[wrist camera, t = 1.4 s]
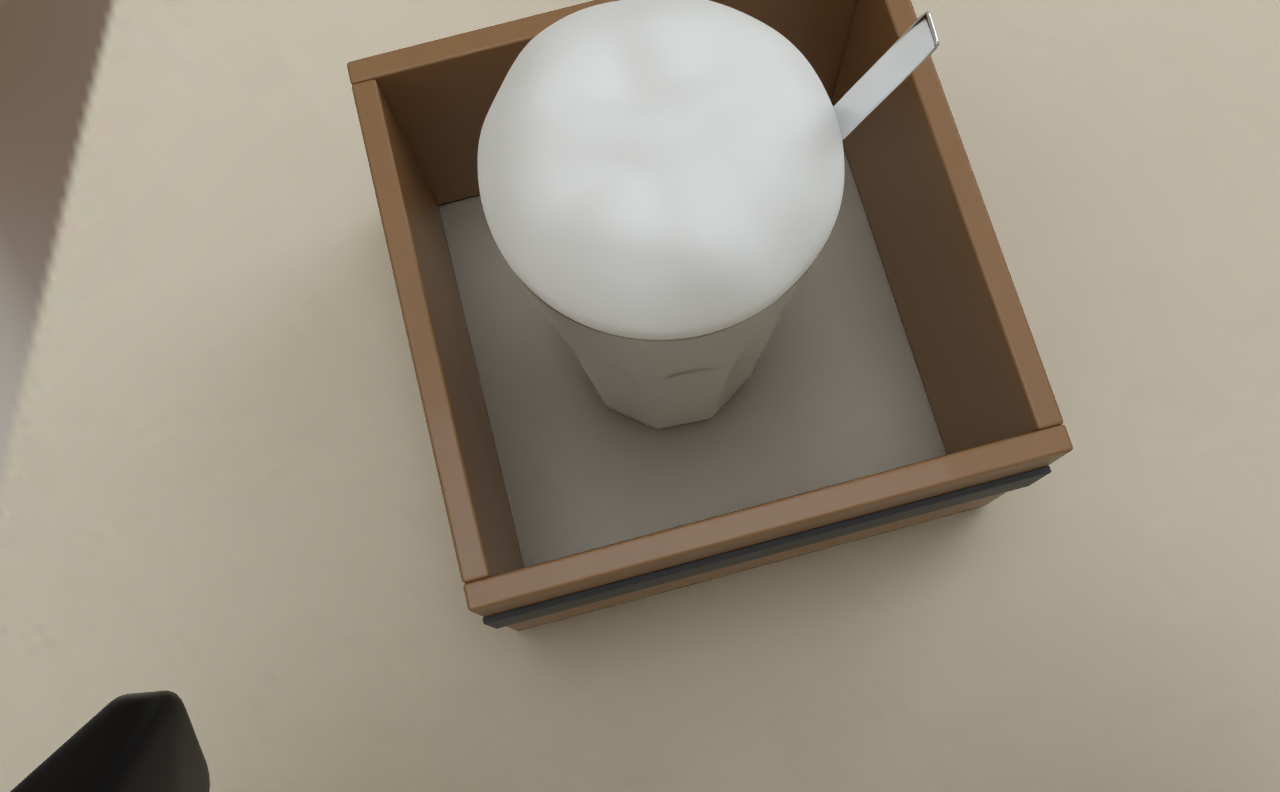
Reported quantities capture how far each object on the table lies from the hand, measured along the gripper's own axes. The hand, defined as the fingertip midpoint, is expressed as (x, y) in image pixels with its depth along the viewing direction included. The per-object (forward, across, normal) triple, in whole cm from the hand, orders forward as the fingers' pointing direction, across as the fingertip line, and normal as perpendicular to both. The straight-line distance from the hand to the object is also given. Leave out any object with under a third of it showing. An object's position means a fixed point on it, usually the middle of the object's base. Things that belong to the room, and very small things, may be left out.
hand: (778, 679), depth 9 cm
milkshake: (+13, 0, +4) cm, 14 cm away
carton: (+13, 0, +4) cm, 14 cm away
